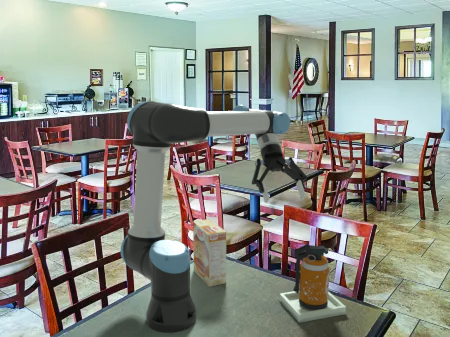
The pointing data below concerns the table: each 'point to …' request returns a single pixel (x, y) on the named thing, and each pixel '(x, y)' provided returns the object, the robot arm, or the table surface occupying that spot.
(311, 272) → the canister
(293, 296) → the tray
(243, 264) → the table surface
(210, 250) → the coffeecake box
